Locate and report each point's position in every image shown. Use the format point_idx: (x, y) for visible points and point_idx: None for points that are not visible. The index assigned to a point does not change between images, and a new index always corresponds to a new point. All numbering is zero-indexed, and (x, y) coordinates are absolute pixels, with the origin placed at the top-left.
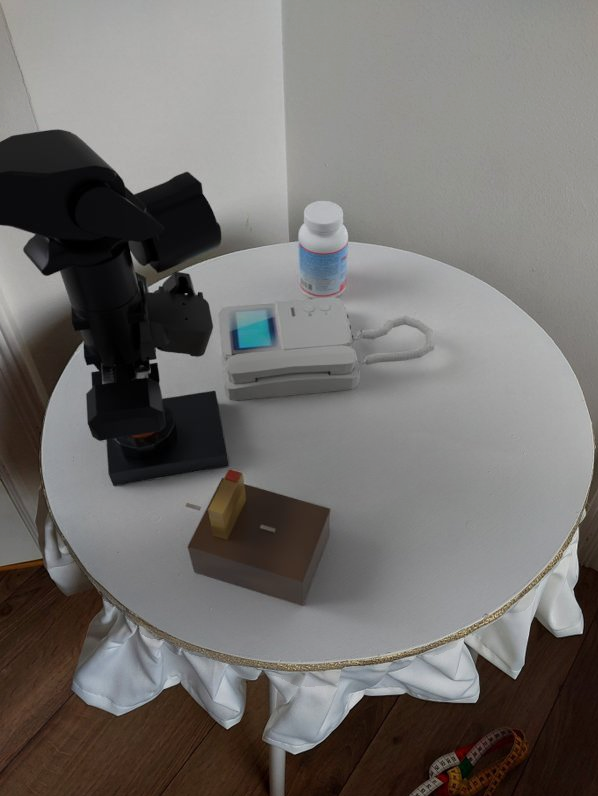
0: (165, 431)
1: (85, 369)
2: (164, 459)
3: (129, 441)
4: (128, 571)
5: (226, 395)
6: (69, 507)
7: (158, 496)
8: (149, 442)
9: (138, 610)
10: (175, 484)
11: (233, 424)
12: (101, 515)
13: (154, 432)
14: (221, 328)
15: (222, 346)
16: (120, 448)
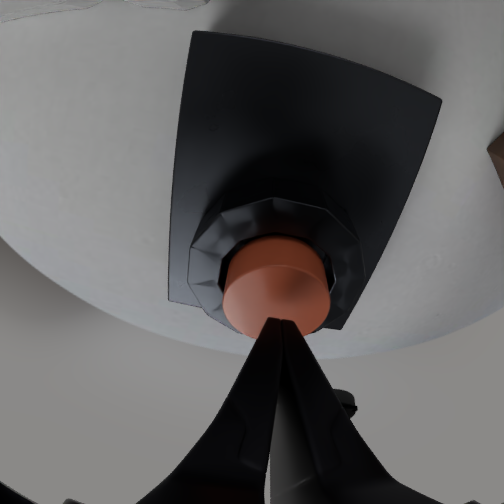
0: (340, 240)
1: (61, 272)
2: (375, 239)
3: None
4: (465, 309)
5: (190, 8)
6: (334, 349)
7: (401, 246)
8: (351, 283)
9: (501, 307)
10: None
11: (298, 20)
12: (374, 322)
13: (322, 262)
14: (3, 10)
15: (47, 1)
16: None
